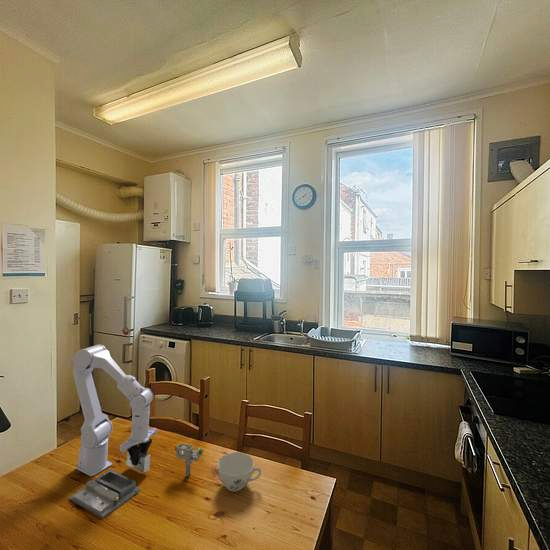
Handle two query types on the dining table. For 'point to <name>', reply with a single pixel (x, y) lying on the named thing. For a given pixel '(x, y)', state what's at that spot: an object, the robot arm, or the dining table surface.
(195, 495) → the dining table surface
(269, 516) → the dining table surface
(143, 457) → the brushed steel bar
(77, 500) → the fixed leaf
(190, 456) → the mechanical component
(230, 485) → the teacup
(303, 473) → the dining table surface
